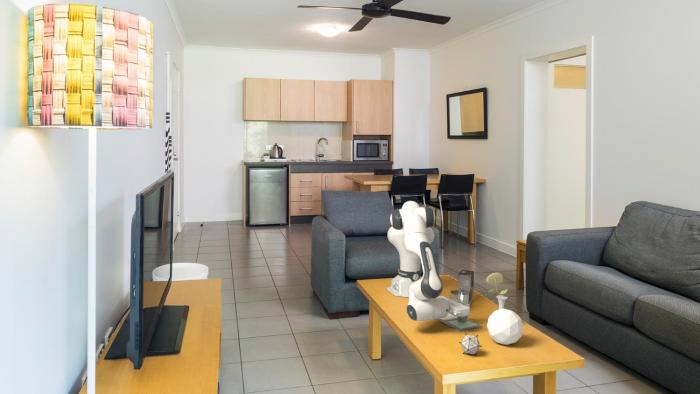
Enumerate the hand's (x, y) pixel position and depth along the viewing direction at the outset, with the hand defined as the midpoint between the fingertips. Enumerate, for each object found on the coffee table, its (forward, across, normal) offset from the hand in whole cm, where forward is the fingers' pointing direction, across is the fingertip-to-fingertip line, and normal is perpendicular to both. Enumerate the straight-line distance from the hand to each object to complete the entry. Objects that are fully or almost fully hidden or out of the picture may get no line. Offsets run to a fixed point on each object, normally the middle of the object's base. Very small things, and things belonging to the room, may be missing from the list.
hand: (464, 303), depth 237 cm
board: (-1, +6, +10) cm, 12 cm away
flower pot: (+13, +20, +10) cm, 26 cm away
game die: (-20, -28, +10) cm, 36 cm away
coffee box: (+25, +29, +10) cm, 40 cm away
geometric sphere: (+1, -25, +10) cm, 27 cm away
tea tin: (-1, 0, +8) cm, 8 cm away
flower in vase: (+14, -8, +10) cm, 19 cm away
